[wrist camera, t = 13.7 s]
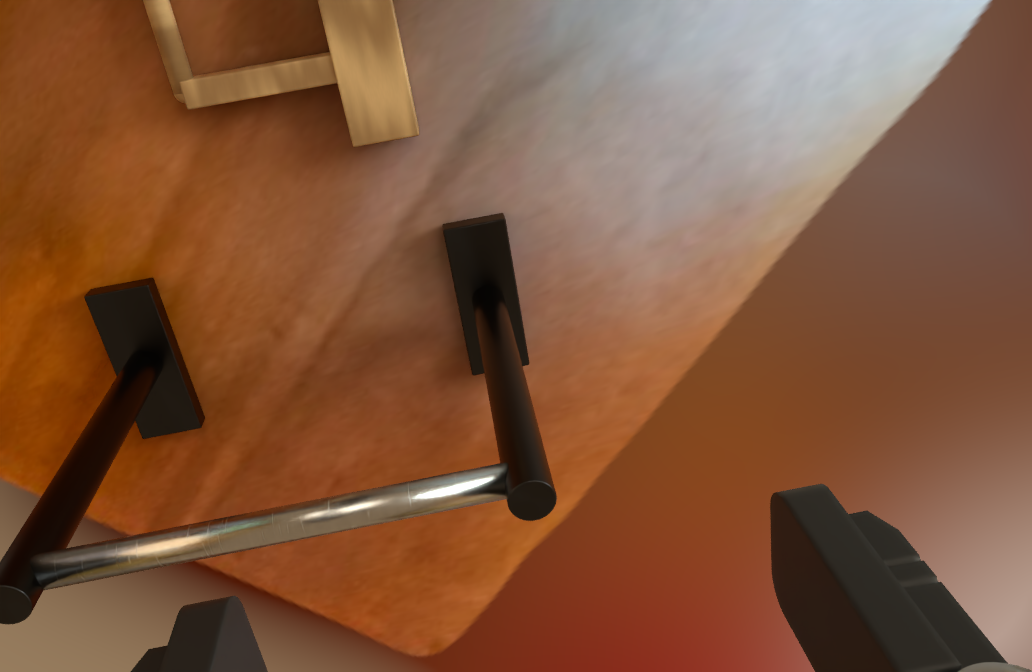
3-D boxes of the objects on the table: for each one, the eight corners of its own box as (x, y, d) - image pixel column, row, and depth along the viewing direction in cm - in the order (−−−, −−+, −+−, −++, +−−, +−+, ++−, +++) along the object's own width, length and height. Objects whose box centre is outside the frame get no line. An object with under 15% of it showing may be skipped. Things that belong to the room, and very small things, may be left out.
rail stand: (90, 288, 41) (-103, 515, 25) (503, 212, 42) (562, 386, 26) (147, 429, 45) (9, 703, 29) (527, 356, 45) (591, 585, 30)
